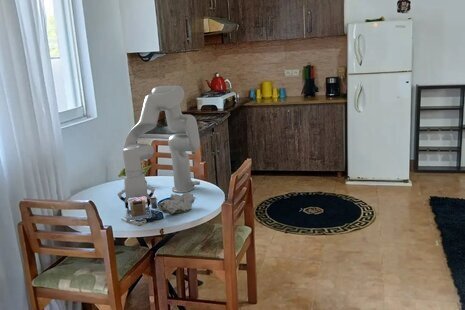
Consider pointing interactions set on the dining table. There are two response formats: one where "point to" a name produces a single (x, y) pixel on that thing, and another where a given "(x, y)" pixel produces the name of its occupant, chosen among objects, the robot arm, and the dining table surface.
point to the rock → (177, 204)
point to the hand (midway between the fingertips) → (138, 207)
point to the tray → (128, 213)
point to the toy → (142, 169)
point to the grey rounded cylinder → (153, 202)
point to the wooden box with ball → (138, 208)
